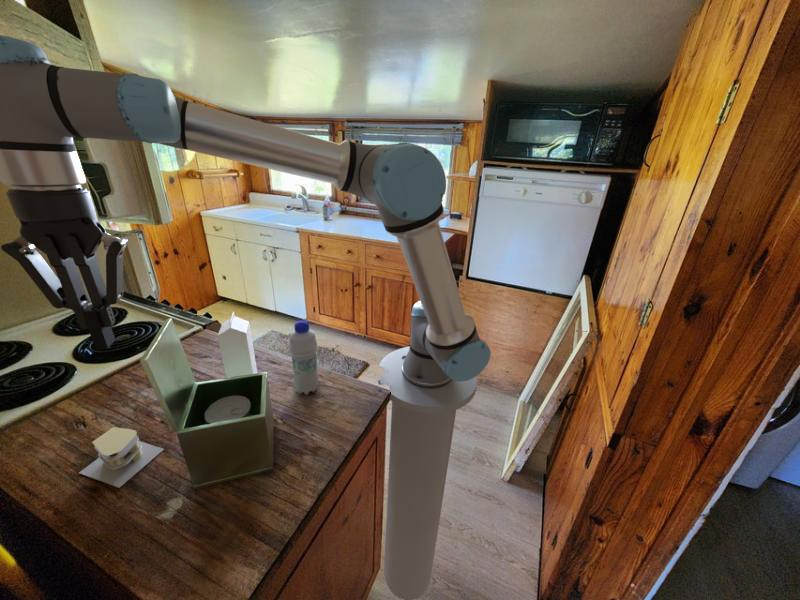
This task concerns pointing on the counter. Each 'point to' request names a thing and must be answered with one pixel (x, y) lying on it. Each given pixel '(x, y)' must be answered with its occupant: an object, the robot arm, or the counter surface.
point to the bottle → (304, 358)
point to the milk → (237, 347)
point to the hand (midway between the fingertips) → (106, 344)
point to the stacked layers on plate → (119, 456)
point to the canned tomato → (228, 409)
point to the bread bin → (228, 432)
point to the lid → (169, 373)
